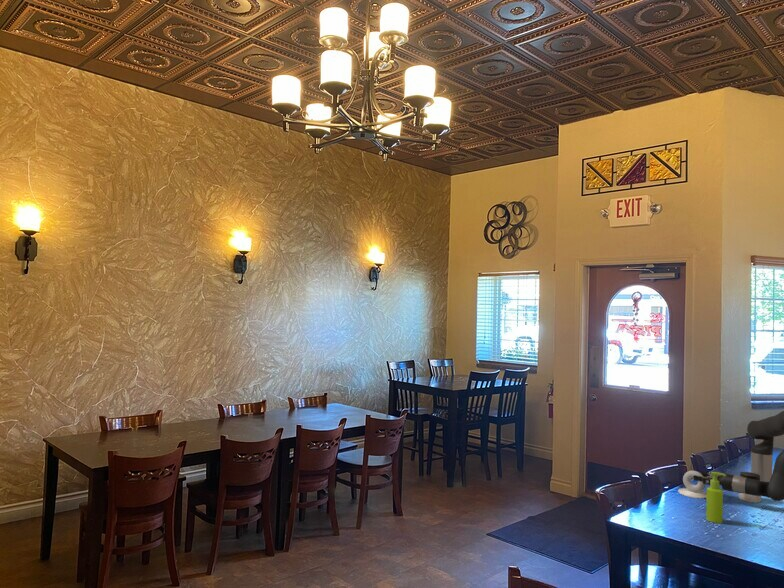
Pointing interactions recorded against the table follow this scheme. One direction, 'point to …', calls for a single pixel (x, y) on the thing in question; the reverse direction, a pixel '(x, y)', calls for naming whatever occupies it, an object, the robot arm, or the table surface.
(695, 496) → the plate
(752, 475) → the jar
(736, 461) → the table surface
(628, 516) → the table surface
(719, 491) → the soap dispenser
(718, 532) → the table surface
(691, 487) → the donut
